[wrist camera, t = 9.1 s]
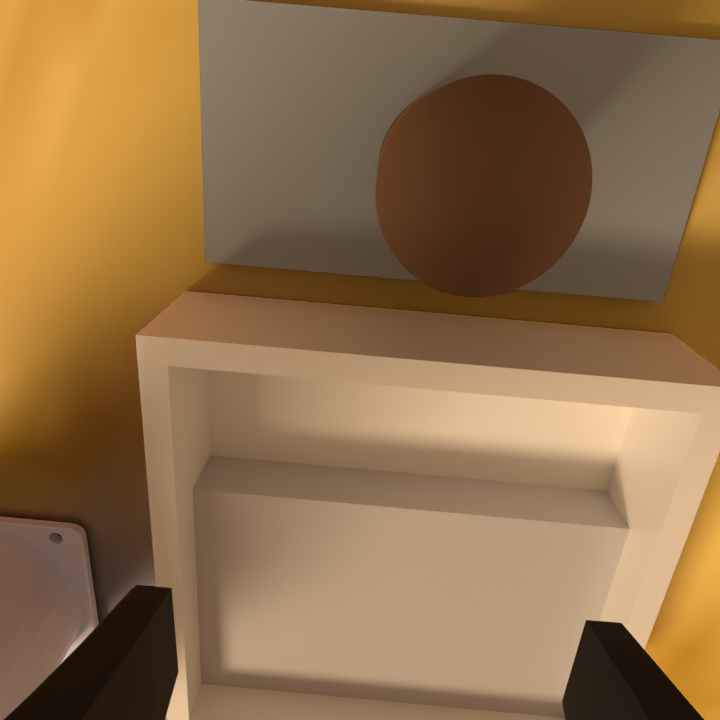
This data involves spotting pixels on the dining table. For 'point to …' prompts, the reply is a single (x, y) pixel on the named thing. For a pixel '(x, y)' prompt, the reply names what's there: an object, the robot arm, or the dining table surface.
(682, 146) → the slate mat
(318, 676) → the open box
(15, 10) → the dining table surface
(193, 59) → the dining table surface
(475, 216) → the walnut cylinder
